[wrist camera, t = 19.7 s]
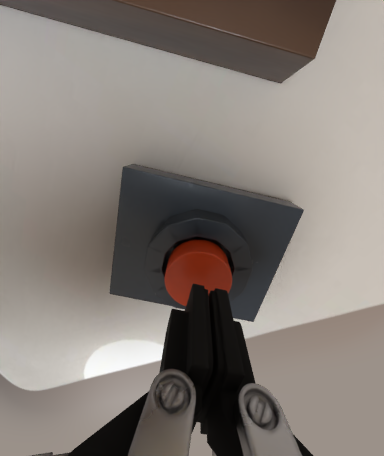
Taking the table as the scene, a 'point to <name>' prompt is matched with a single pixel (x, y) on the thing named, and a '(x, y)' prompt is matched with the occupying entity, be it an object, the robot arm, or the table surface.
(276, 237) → the dark grey flat piece
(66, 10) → the dock
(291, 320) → the table surface
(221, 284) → the button
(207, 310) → the robot arm
